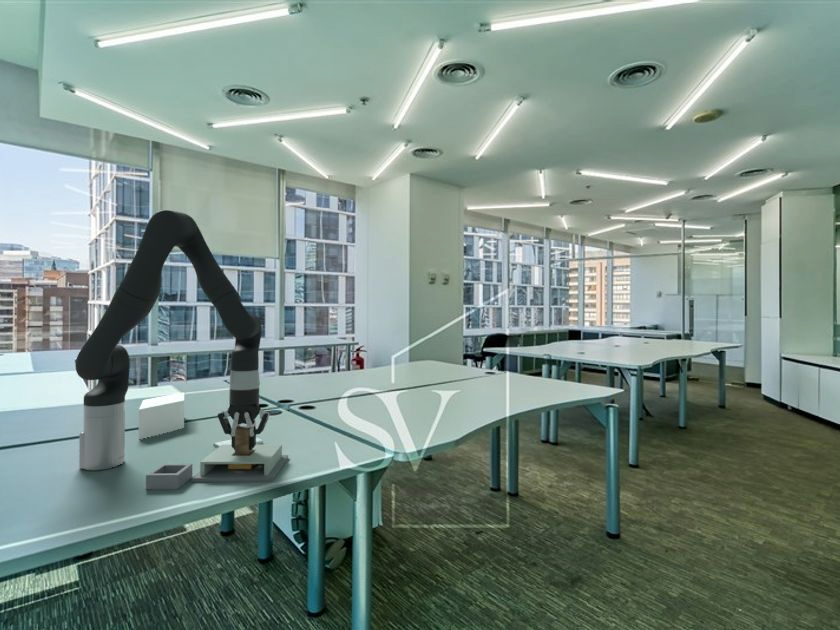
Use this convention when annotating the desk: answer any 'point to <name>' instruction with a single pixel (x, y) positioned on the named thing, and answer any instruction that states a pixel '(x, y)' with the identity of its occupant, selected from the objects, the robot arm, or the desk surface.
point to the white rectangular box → (161, 415)
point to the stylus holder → (169, 476)
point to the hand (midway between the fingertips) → (243, 448)
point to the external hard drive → (228, 442)
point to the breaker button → (240, 466)
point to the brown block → (242, 441)
